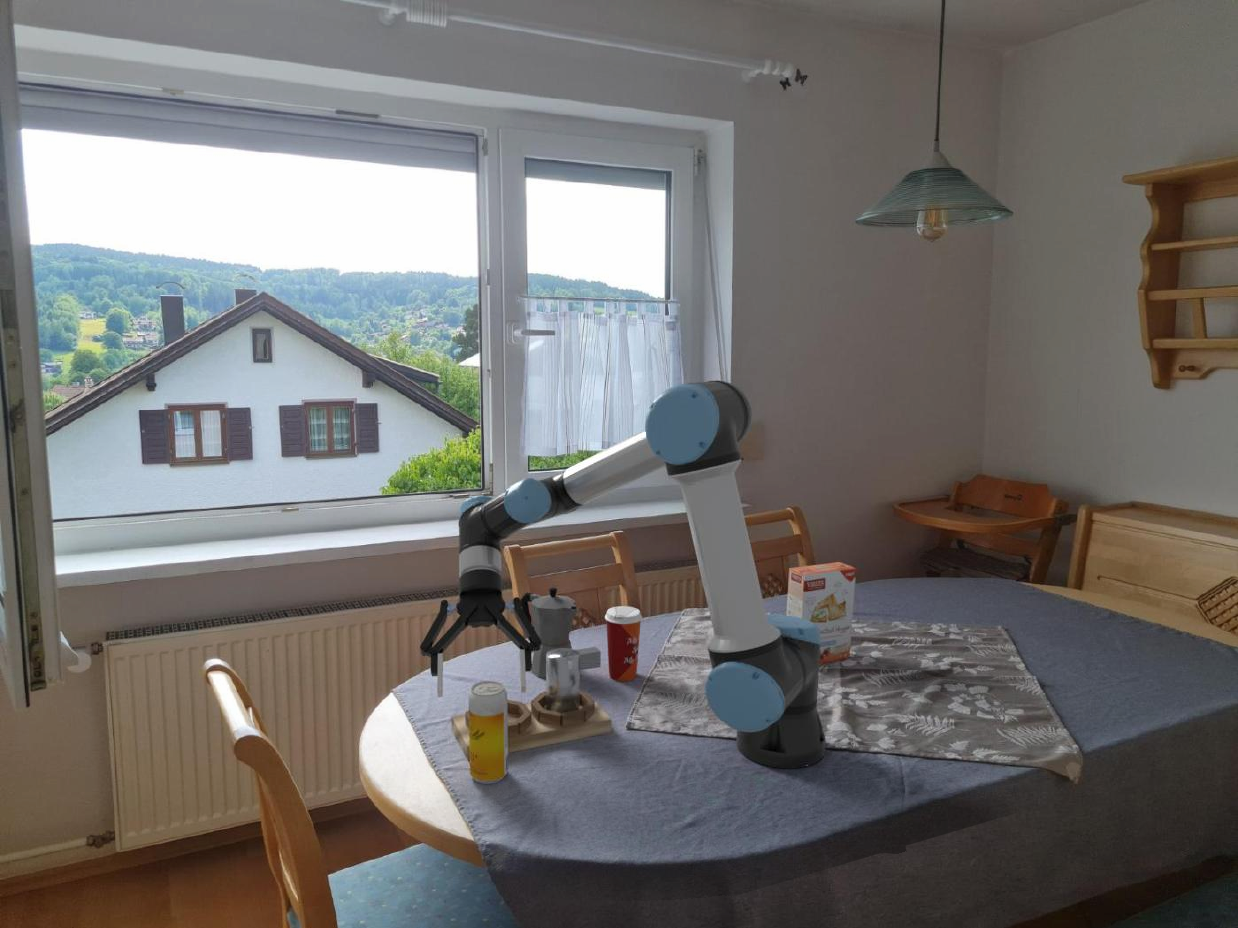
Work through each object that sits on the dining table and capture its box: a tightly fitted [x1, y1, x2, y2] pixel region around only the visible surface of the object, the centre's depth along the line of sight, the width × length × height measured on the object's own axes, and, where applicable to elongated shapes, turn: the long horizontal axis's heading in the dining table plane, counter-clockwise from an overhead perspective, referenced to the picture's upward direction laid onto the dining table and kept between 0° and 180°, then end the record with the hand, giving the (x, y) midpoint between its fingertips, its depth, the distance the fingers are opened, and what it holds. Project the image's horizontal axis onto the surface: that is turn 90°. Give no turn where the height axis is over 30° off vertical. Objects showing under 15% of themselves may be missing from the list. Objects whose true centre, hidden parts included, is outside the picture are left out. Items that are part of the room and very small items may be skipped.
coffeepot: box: [520, 587, 580, 679], centre depth 180 cm, size 15×9×18 cm, turn 55°
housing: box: [450, 690, 612, 761], centre depth 154 cm, size 12×26×4 cm, turn 114°
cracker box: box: [785, 561, 857, 665], centre depth 187 cm, size 14×6×21 cm, turn 115°
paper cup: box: [604, 605, 643, 682], centre depth 177 cm, size 8×8×14 cm
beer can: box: [468, 680, 509, 785], centre depth 138 cm, size 6×6×15 cm
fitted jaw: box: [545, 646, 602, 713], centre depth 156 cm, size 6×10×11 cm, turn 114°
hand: (482, 691), depth 142 cm, fingers open, 13 cm apart
